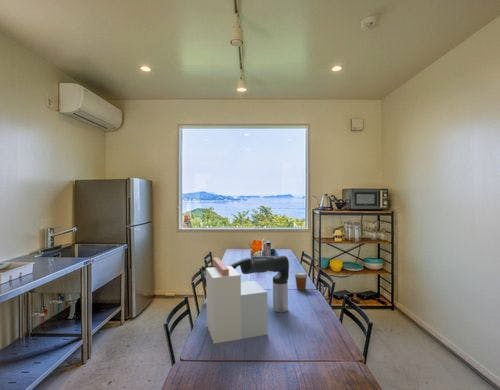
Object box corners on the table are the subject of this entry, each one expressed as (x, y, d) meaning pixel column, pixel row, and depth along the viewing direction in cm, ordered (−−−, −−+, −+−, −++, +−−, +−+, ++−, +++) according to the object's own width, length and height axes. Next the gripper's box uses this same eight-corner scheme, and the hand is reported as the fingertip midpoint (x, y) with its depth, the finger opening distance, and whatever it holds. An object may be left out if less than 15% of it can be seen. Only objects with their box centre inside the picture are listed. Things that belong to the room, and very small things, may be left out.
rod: (212, 263, 171) (212, 257, 171) (217, 262, 172) (217, 257, 172) (223, 275, 145) (222, 269, 145) (228, 275, 146) (228, 269, 145)
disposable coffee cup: (299, 286, 226) (299, 270, 226) (310, 289, 219) (309, 273, 219) (292, 289, 219) (291, 273, 219) (302, 292, 212) (302, 275, 212)
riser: (206, 326, 160) (206, 267, 160) (255, 318, 169) (254, 263, 169) (213, 343, 141) (212, 278, 141) (267, 334, 150) (266, 272, 150)
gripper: (199, 268, 186) (202, 260, 173) (221, 266, 191) (225, 258, 177) (200, 279, 183) (203, 272, 170) (222, 277, 187) (227, 270, 174)
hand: (214, 265), depth 173 cm, fingers open, 8 cm apart
